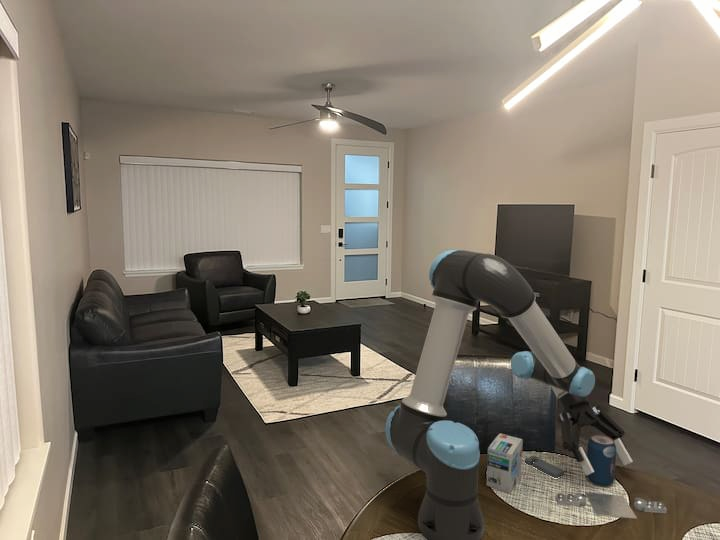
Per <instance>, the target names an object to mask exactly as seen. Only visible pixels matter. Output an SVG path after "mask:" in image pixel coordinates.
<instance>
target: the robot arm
mask: <svg viewBox="0 0 720 540" xmlns="http://www.w3.org/2000/svg"><path fill="white" fill-rule="evenodd" d="M428 279H429V281H430V283H429V284H430V285H431V287H432V289H433V290H432V293H431V298H432V300H433V302H434V304H435V305H434V306H435V307H434V309H433V313H432V316H431V320H430V323H429V327H428V330H427V334H426V338H425V340H424V344H423V347H422V351H421V354H420V355H421V356H420V359H419V362H418V365H417V369H416V372H415V376H414V379H413V382H412V386H411V390H410V392H409V395H408V396H405V397H404V398H402V400H401V402H400V404H399V405H397V406H396V407H395V408H394V409H393V410H392V411H391V412H390V413H389V414H388V416H387V419H386V421H385V427H384V429H385V430H384V431H385V437H386V440H387V442H388V444H389V445H390V447H391V448H392V449H393V450H395V452H396V453H397V454H398V455H399V456H401V457H403V458H404V459H406V460H407V461H409V462H410V463H412V464H413V465H415V466H416V467H417V468H418V469H420V470H421V471H422V472H424V473H425V475H426V476H425V477H426V478H425V479H426V480H425V481H426V482H425V483H426V486H425V487H426V488H425V489H426V490H425V494H424V497H423V499H422V502H421V505H420V507H419V510H418V513H417V526H418V530H419V532H420V533H421V535H422V536H423V537H425V538H426V539H427V540H481V539H482V538H483V537H484V533H485V519H484V516H483V511H482V509H481V505H480V503H479V499H478V492H479V491H478V490H479V489H478V488H479V487H478V486H479V472H480V471H479V470H480V458H481V457H480V455H481V453H480V442H479V439H478V436H477V435H476V433H475V432H474V431H473V429H471V428H470V427H469V426H467V425H465V424H463V423H460V422H454V421H453V420H446V418H447V415H448V413H447V411H446V409H445V408H444V403H445V401H446V396H447V392H448V389H449V385H450V381H451V379H452V374H453V371H454V367H455V365H456V364H455V363H456V360H457V356H458V354H459V350H460V347H461V343H462V341H463V336H464V332H465V328H466V325H467V321H468V318H469V315H470V314H471V313H472V312H474V311H476V310H477V309H478V305H479V302H481V303H484V304H487V305H488V306H491V308H493V309H495V310H496V311H497V313H498V314H499V315H500V316H501V317H502V318H503V319H504V318H505V319H508V320H509V321H510V323H511V325H512V326H513V327H514V328H515V330H516V331H517V333H518V334H519V335H520V337H521V338H522V339H523V340H524V342H525V343H526V345H527V346H528V347H529V349H530V350H531V351H527V350H524V351H518V352H516V353H515V354H513V356H512V357H511V359H510V360H511V361H510V370H511V373H512V374H513V375H514V376H515V377H516V378H518V379H524V380H528V379H531V380H534V381H537V382H540V383H542V384H545V385H546V386H547V385H548V386H550V387H551V389H552V391H553V393H554V394H555V397H556V398H557V399H558V403H559V404H560V406H561V408H562V410H563V412H561V413H560V414H558V415H557V418H558V420H559V423H560V430H561V431H560V432H561V441H562V442H561V443H562V448H563V450H564V451H566V450H567V451H568V452H570V453H572V454H573V457H574V459H575V460H576V462H577V463H579V465H580V467H581V469H582V471H583V472H584V475H585V476H586V475H589V474H591V473H593V472H594V470H593V468H592V466H591V464H590V462H589V460H588V458H587V453H585V451H584V448H583V447H582V446H580V439H581V437H580V436H581V429H582V428H584V427H594V428H595V429H596V430H598V431H600V432H601V433H603V435H605V436H608V437H610V438H612V439H613V440H614V443H615V446H616V454H617V455H618V457H619V458H620V460H621V463H622V464H623V466H627V465H629V464H632V463H633V461H634V460H633V459H632V458H631V456H630V454H629V452H628V451H627V446H626V445H625V443H624V441H623V439H622V437H624V436H625V434H626V432H625V431H624V430H623V429H622V427H620V426H619V425H618V423H617V422H615V421H614V420H613V419H612V418H611V417H610V416H609V415H608V414H607V413H606V412H605V411H604V410H603V408H602V407H601V406H600V405H599V404H598V405H597V404H596V406H594V407H591V405H590V404H589V403H590V399H589V398H588V396H589V395H590V394H591V392H592V391H593V389H594V387H595V384H596V376H595V374H594V372H593V371H592V370H590V369H589V368H586V367H585V366H581V365H579V364H578V362H577V361H576V359H575V358H574V357H573V355H572V354H571V352H570V351H569V349H568V348H567V346H566V344H565V343H564V342H563V340H562V339H561V338H560V336H559V335H558V333H557V331H556V330H555V329H554V327H553V326H552V324H551V323H550V321H549V319H547V317H546V315H545V314H544V312H543V311H542V310H541V308H540V306H539V305H538V304H537V302H536V293H535V292H534V289H533V288H532V287H531V285H530V284H529V283H528V281H527V280H526V279H525V277H524V276H523V275H522V274H521V273H520V272H519V271H518V270H517V269H516V268H515V267H514V266H513V265H511V263H509V262H508V261H507V260H505V259H503V258H502V257H500V256H498V255H495V254H491V253H483V252H482V253H481V252H476V251H470V250H464V249H457V250H456V249H455V250H453V249H450V250H446V251H443V252H442V253H440V254H439V255H437V256H436V258H435V259H434V260H433V261H432V263H431V265H430V267H429V273H428ZM570 421H571V423H570Z"/></svg>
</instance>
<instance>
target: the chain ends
mask: <svg viewBox="0 0 720 540" xmlns="http://www.w3.org/2000/svg"><path fill="white" fill-rule="evenodd" d="M587 498H588V499H587ZM555 499H556V501H558V502H557V504H558V505H559V504H560V505H561V506H569V505H571V506H572V505H573V506H572V507H586V506H587V501H588V502H589V504H590V506H591V509H592V510H593V512H594V514H595V515H596V516H598V517H612V518H613V517H614V518H615V517H616V518H623V519H624V518H625V519H635V520H638V517H637V515H636V514H635V512H634V511H633V509H632V508H631V506H630V504H629V503H628V501H627V500H626V498H625V496H624V495H621V494H606V493H597V492H596V493H593V492H585V493H581V492H576V493H575V494H572V493H568V494H565V493H562V492H561V493H560V492H558V493H555ZM560 505H559V506H560ZM585 505H586V506H585ZM571 506H570V507H571ZM633 508H634V509H635V510H637V511H639V512H644V513H656V514H667V511H668V510H667V507H666V506H665V502H664V501H661V500H658V501H653V500H649V499H648V500H646V499H644V498H641V497H634V501H633Z"/></svg>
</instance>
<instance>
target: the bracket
mask: <svg viewBox="0 0 720 540" xmlns="http://www.w3.org/2000/svg"><path fill="white" fill-rule="evenodd" d="M533 462H534V463H533ZM525 463H526V464H528V465H532V466H533V467H535V468H537V469H538V470H540V471H542V472H544V473H546V474H548V475H550V476H552V477H554V478H558V477H560V478H562V477H564V476H565V470H564V469H562V468H560V467H558V466H557V465H554V464H552V463H550V462H547V461H546V460H544V459H542V458H540V457H538V456H535V455H534V454H532V455H530V456H529V457H526V458H524V464H525ZM526 464H525V465H526ZM528 465H527V466H528ZM532 466H531V467H532ZM533 467H532V468H533ZM538 470H537V471H538ZM540 471H539V472H540ZM542 472H541V473H542ZM544 473H543V474H544ZM546 474H545V475H546ZM548 475H547V476H548ZM563 475H564V476H563ZM561 476H562V477H561ZM558 479H559V478H558Z"/></svg>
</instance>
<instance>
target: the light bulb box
mask: <svg viewBox="0 0 720 540" xmlns="http://www.w3.org/2000/svg"><path fill="white" fill-rule="evenodd" d="M523 442H524V441H523V439H522V438H519V437H515V436H511V435H508V434H503V433H501V432H500V433H499V434H498V435H496V437H495V438H494V439H493V441H492V442H491V444H490V445H489V446H488V447H487V464H486V465H487V466H486V467H487V468H486V486H487V487H490V488H492V489H497V490H500V491H504V492H505V493H509V494H511V493H512V491H513V490H514V488H515V486H516V484H518V482H519V480H520V478H521V477H522V462H523V461H522V460H523ZM520 476H521V477H520ZM517 481H518V482H517Z"/></svg>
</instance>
